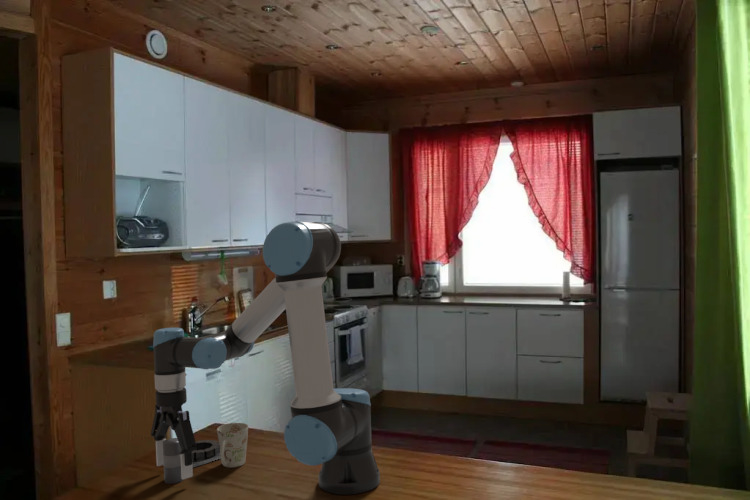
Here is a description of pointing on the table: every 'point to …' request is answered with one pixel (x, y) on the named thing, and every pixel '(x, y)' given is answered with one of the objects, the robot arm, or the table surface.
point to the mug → (233, 443)
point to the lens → (172, 461)
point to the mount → (205, 452)
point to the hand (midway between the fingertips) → (174, 471)
